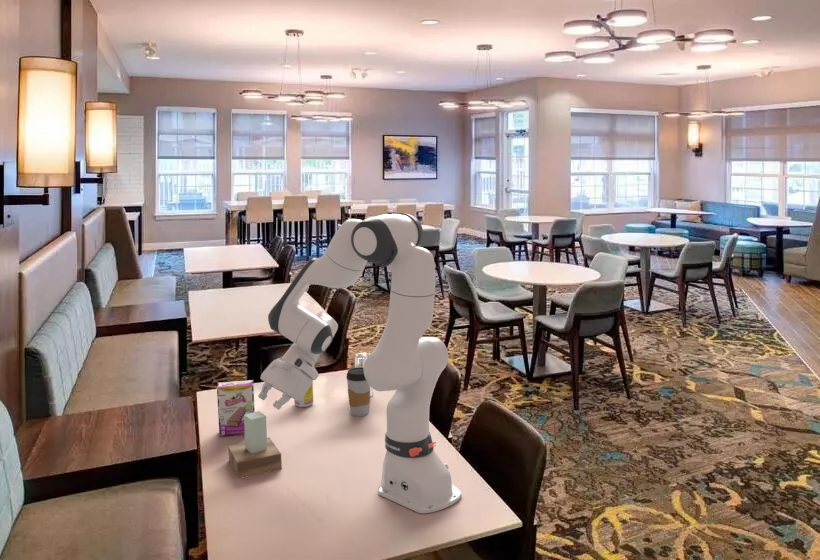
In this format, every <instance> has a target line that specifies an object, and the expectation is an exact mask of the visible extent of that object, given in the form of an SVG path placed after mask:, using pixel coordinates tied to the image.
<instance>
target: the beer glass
mask: <svg viewBox="0 0 820 560" xmlns="http://www.w3.org/2000/svg"><path fill="white" fill-rule="evenodd" d="M370 354H371V353H368V352H363V353H362V352H360V353H357V354H355V355H354V356H355V357H354V368H357V367H363V368H364V363H365V360H366V358H367V357H368V356H369V355H370ZM373 391H374V389H373V388H372V387H371V386H370V396H371V397H373V396H374V392H373ZM372 395H373V396H372Z"/></svg>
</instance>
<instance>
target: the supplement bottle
mask: <svg viewBox="0 0 820 560" xmlns="http://www.w3.org/2000/svg"><path fill="white" fill-rule="evenodd" d="M313 385H314V383H313V382H312V385H311V386H310V388H309V389H308V391H307V392H306V394H305V395H304V396H303V397H302V398H301V399H300V400H298V401H296V400H295V399H293V402H294V405H295V406H296V407H299V408H307V407H310V406H312V405H313V404H314V387H313Z"/></svg>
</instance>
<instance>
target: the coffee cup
mask: <svg viewBox="0 0 820 560" xmlns="http://www.w3.org/2000/svg"><path fill="white" fill-rule="evenodd" d="M346 381H347V393H348V394H347V395H348V405H349V412H350V414H351V415H352V416H356V417H362V416H363V417H364V416H366V415H368V413H369V411H370V398H371V397H370V385H369V384H368V383H367V381H366V379H365V376H364V368H363V367H357V368H355V367H352V368H349V369H348V370H347V373H346Z"/></svg>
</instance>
